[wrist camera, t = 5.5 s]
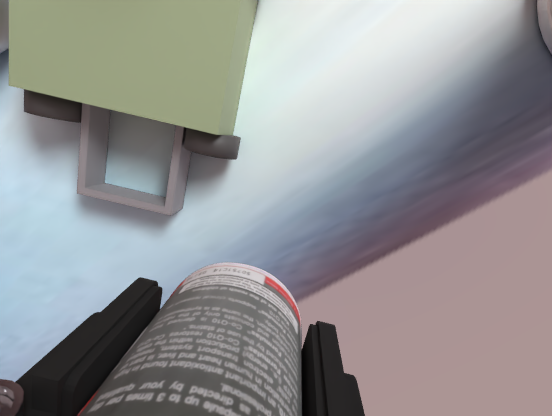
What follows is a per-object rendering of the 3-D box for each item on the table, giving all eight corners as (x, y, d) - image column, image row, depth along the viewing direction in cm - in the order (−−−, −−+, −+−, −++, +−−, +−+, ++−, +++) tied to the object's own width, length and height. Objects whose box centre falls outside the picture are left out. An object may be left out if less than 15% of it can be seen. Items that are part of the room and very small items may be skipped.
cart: (276, -23, 21) (271, -71, 16) (228, 219, 26) (213, 238, 21) (60, -74, 21) (-9, -137, 16) (51, 177, 26) (-5, 186, 21)
